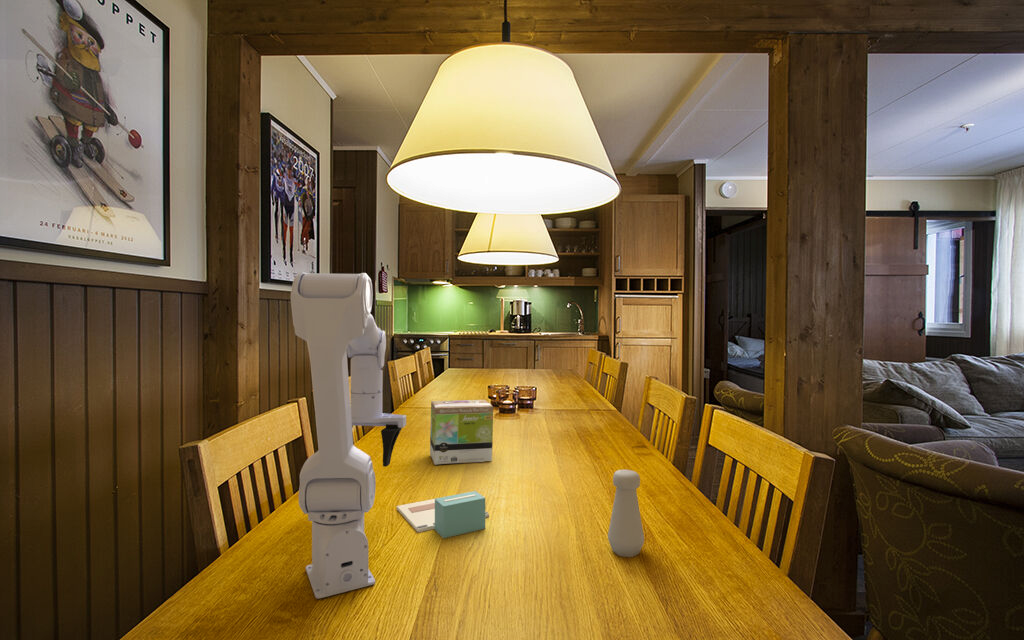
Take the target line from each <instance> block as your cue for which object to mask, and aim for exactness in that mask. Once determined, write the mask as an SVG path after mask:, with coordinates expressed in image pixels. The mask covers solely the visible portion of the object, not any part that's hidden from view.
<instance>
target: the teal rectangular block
mask: <svg viewBox="0 0 1024 640" xmlns="http://www.w3.org/2000/svg"><path fill="white" fill-rule="evenodd" d="M434 499H435V529H434V530H435V532H436V533H437V534H438V535H439V536H440V537H441V538H442V539H446V538H450V537H455V536H459V535H464V534H468V533H472V532H473V533H474V532H476V531H482V530H484V529H486V518H485V511H486V497H485V496H483V495H482V494H481V493H479V492H477V490H474V491H467V492H463V493H458V494H457V493H456V494H453V495H447V496H443V497H437V498H434Z"/></svg>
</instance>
